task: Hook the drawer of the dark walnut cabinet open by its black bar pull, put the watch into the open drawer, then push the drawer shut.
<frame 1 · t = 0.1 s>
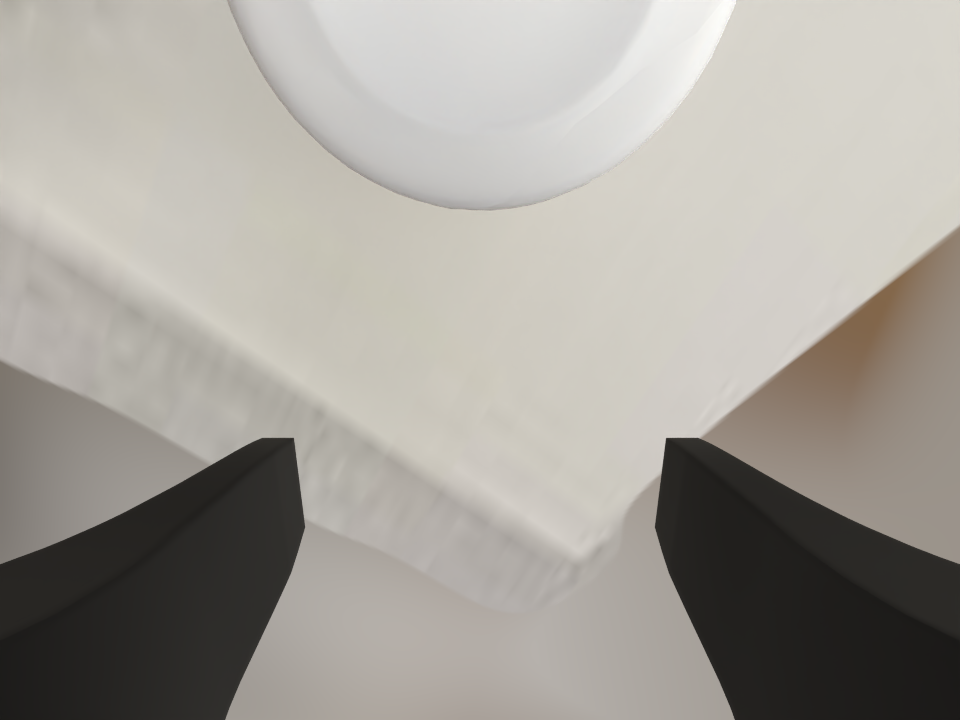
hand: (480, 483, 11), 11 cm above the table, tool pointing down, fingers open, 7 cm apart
sprinkles bottle: (480, 6, 16), on the table
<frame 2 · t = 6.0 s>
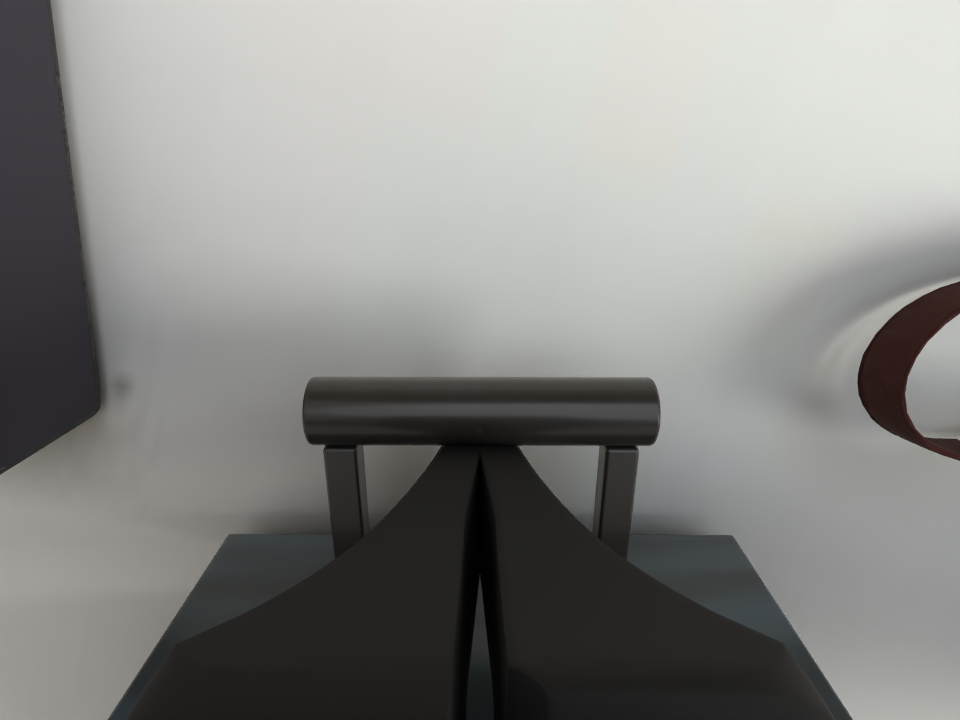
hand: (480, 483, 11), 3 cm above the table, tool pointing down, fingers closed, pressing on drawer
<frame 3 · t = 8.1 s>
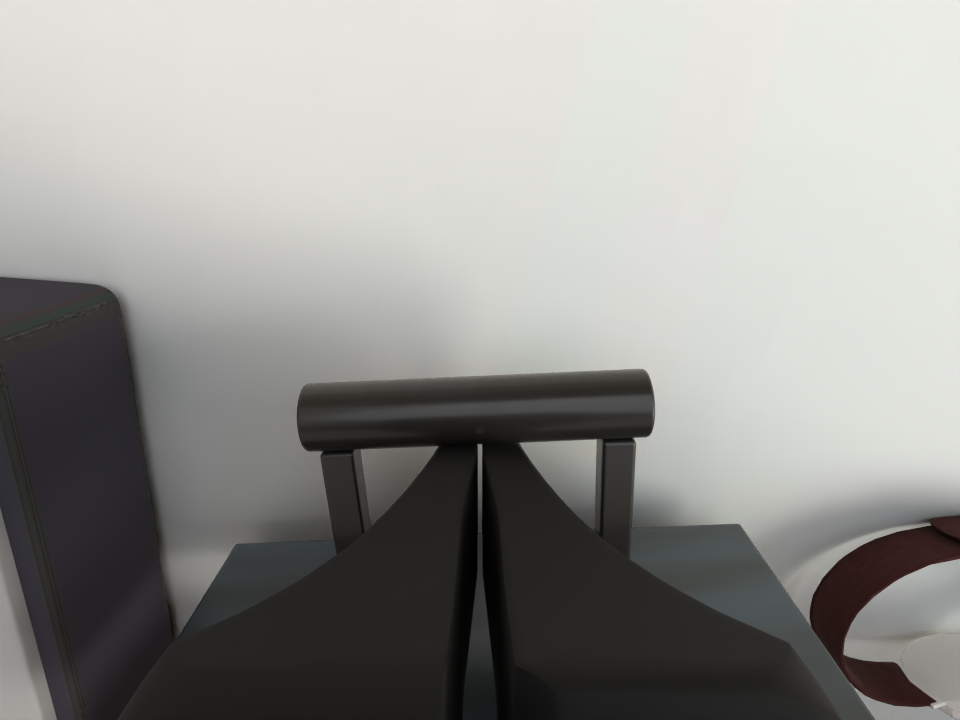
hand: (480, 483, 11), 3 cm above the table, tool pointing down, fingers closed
watch: (932, 569, 16), on the table
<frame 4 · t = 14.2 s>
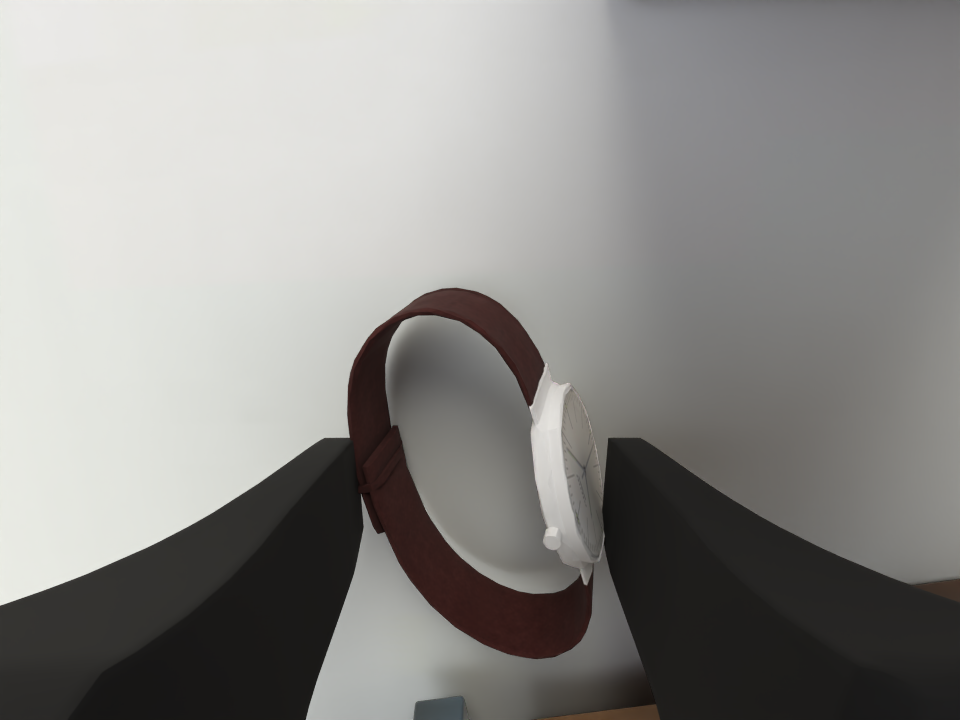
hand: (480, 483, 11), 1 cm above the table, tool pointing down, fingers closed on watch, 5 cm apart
watch: (482, 443, 13), on the table, touching gripper
when the fingers open (3 cm above the table, at t = 19.1 s): watch stays where it is, resting on drawer.
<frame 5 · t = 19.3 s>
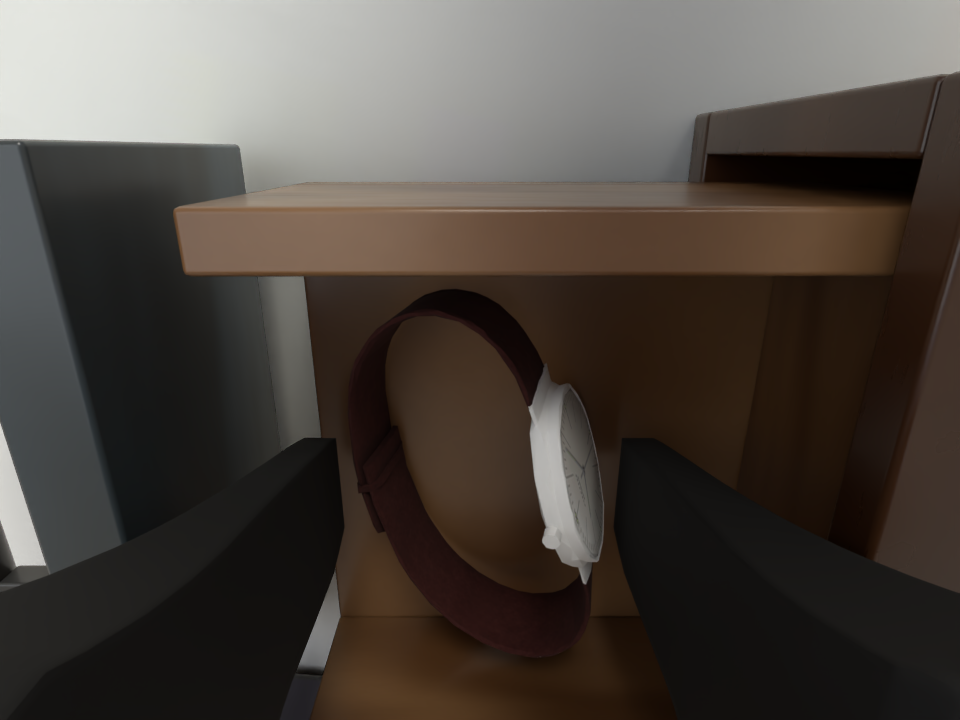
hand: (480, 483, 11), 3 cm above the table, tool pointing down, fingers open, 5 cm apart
watch: (482, 443, 13), point 2 cm above the table, touching drawer
drawer: (360, 493, 11), point 4 cm above the table, slide at 9.3 cm, touching watch
cabinet: (930, 408, 14), on the table
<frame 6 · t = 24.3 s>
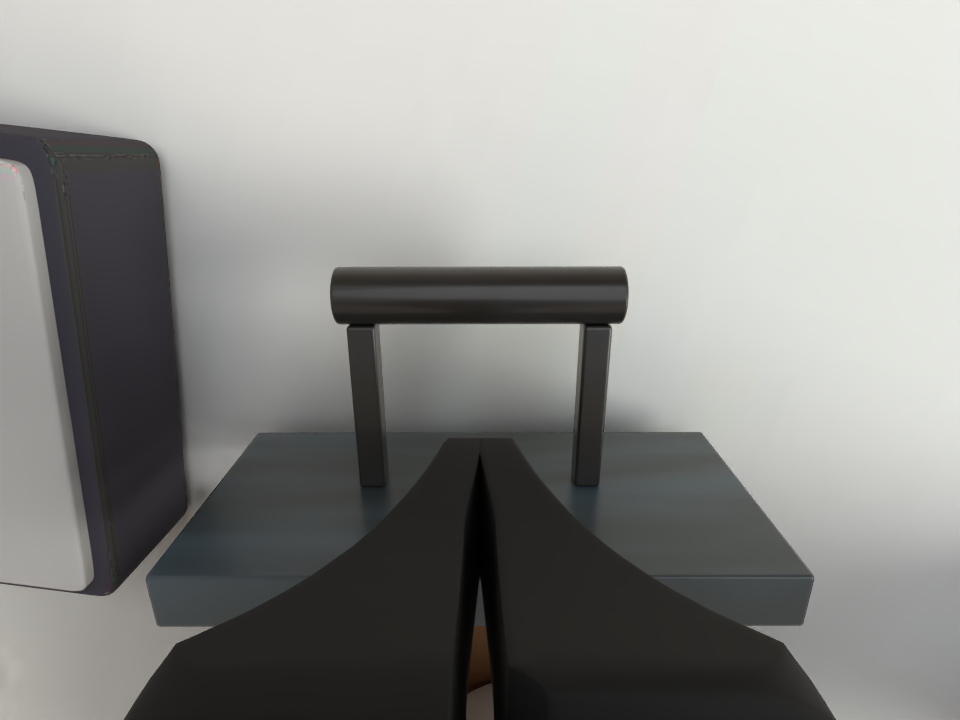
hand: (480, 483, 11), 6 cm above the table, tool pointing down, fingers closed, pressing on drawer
watch: (479, 624, 17), point 2 cm above the table, touching drawer
drawer: (480, 614, 14), point 4 cm above the table, slide at 8.1 cm, touching gripper, watch
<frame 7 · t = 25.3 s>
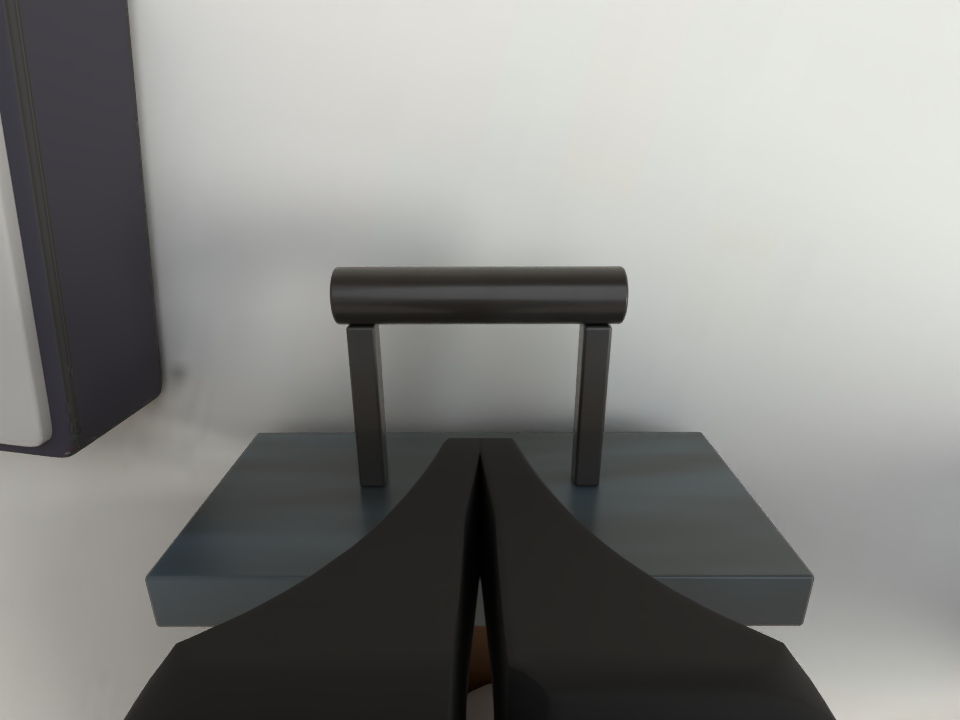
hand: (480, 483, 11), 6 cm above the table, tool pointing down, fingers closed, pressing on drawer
watch: (479, 624, 17), point 2 cm above the table, touching drawer
drawer: (479, 614, 14), point 4 cm above the table, slide at 4.1 cm, touching gripper, watch
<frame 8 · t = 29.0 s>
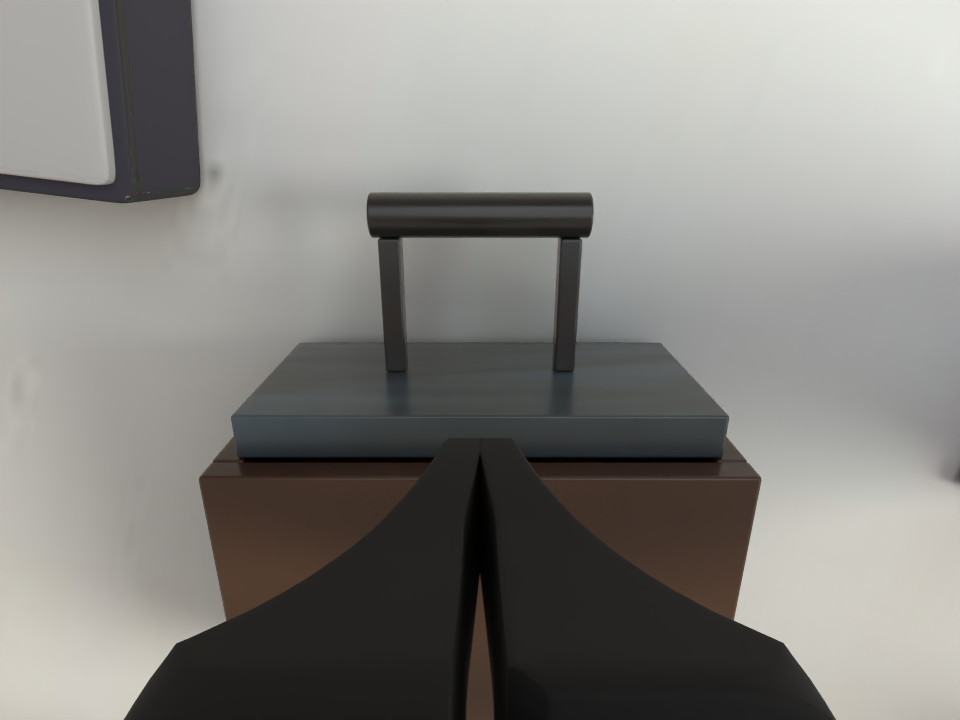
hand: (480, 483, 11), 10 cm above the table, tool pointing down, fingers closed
drawer: (480, 481, 18), point 4 cm above the table, slide at 0.0 cm, touching cabinet, watch
cabinet: (480, 522, 23), on the table
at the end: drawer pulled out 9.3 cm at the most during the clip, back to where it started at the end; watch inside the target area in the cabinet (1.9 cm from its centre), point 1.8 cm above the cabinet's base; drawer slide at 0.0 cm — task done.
